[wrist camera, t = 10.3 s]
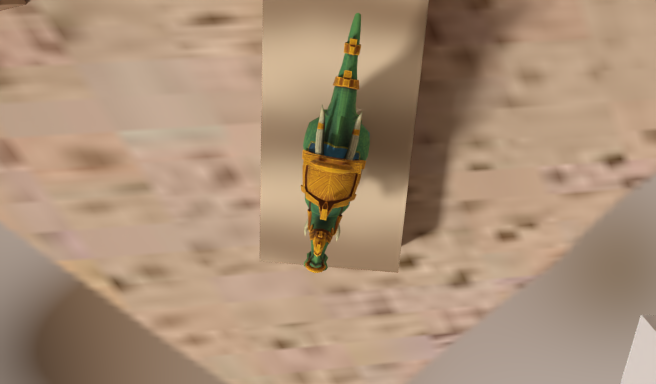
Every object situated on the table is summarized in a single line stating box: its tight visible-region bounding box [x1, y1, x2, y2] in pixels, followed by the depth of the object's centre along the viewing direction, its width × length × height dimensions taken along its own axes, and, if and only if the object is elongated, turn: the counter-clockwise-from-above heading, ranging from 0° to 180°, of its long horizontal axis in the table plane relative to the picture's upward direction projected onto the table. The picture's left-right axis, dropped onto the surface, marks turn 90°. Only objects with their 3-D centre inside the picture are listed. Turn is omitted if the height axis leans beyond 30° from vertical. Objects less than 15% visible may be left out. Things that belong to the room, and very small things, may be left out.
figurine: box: [301, 13, 370, 273], centre depth 24 cm, size 3×12×8 cm, turn 171°
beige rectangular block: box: [260, 0, 429, 273], centre depth 29 cm, size 16×8×3 cm, turn 177°
